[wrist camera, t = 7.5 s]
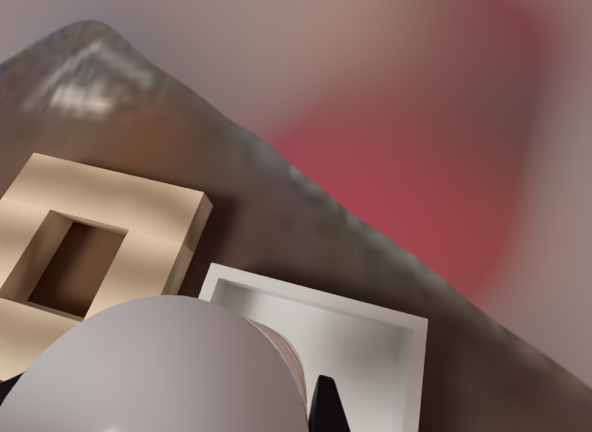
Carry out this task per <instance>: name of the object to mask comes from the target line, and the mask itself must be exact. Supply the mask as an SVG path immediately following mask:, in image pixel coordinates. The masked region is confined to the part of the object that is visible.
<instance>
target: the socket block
mask: <svg viewBox="0 0 592 432" xmlns="http://www.w3.org/2000/svg"><path fill="white" fill-rule="evenodd" d="M212 207H213V205H212V204H211V202H210V201H209V199H208V198H207V196H206V195H205V193H204V192H200V191H196V190H192V189H188V188H183V187H179V186H175V185H170V184H166V183H162V182H157V181H153V180H149V179H145V178H140V177H136V176H132V175H127V174H123V173H119V172H114V171H110V170H106V169H102V168H97V167H93V166H89V165H84V164H80V163H76V162H71V161H67V160H63V159H59V158H54V157H50V156H46V155H41V154H37V153H33V155H32V156H31V158H30V159H29V161H28V162H27V163H26V165H25V166H24V168H23V169H22V171H21V172H20V173H19V175H18V176H17V178H16V179H15V180H14V182H13V183H12V185H11V186H10V188H9V189H8V190H7V192H6V193H5V195H4V196H3V197H2V199H1V200H0V379H1V380H4V381H6V380H8V379H10V378H12V377H14V376H17V375H19V374H21V373H23V372H25V371H26V370H27V369H28V368H29V367H30V366H31V365H32V363H33V362H34V361H35V360H36V359H37V358H38V357H39V356H40V355H41V354H42V353H43V352H44V351H45V350H46V349H47V348H48V347H49V346H50V345H52V344H53V343H54V342H55V341H56V340H57V339H58V338H60V337H61V336H62V335H64V334H65V333H66V332H68V331H69V330H70V329H71V328H73V327H74V326H76V325H77V324H79V323H81V322H82V321H84V320H86V319H87V318H89V317H90V316H92V315H94V314H96V313H98V312H101V311H103V310H105V309H107V308H109V307H111V306H114V305H117V304H120V303H123V302H126V301H129V300H133V299H138V298H143V297H148V296H159V295H177V294H178V291H179V289H180V287H181V284H182V282H183V279H184V277H185V274H186V272H187V269H188V267H189V264H190V262H191V259H192V257H193V254H194V252H195V249H196V247H197V244H198V242H199V239H200V237H201V234H202V232H203V229H204V227H205V225H206V222H207V220H208V217H209V215H210V212H211V210H212ZM73 222H77V223H80V224H84V225H88V226H92V227H96V228H100V229H104V230H107V231H111V232H115V233H119V234H123V235H126V237H125V239H124V241H123V243H122V245H121V247H120V249H119V251H118V253H117V255H116V257H115V259H114V261H113V263H112V265H111V267H110V269H109V271H108V273H107V275H106V277H105V279H104V281H103V283H102V285H101V286H100V288H99V290H98V292H97V294H96V296H95V298H94V300H93V302H92V304H91V306H90V308H89V310H88V312H87V314H86V316H85V318H82V317H79V316H75V315H72V314H69V313H65V312H62V311H59V310H55V309H52V308H49V307H45V306H42V305H39V304H35V303H32V302H29V301H27V300H28V299H29V297H30V295H31V293H32V292H33V290H34V288H35V287H36V285H37V283H38V281H39V280H40V278H41V276H42V275H43V273H44V271H45V270H46V268H47V266H48V264H49V263H50V261H51V259H52V258H53V256H54V254H55V252H56V251H57V249H58V247H59V246H60V244H61V242H62V240H63V239H64V237H65V235H66V234H67V232H68V230H69V228H70V227H71V225H72V223H73Z"/></svg>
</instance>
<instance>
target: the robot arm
mask: <svg viewBox="0 0 592 432" xmlns="http://www.w3.org/2000/svg"><path fill="white" fill-rule="evenodd" d="M23 374H24V372H23V373H21V374H19V375H17V376H14V377H12V378H10V379H8V380H6V381H4V382H2V383H0V406H1V405H2V403H3V401H4V400H5V398H6V396H7V395H8V394H9V392H10V391H11V389H12V388H13V387H14V385H15V384H16V383H17V381H18V380H19V379H20V377H21V376H22V375H23ZM308 429H309V432H351V431H350V428H349V425H348V421H347V418H346V415H345V412H344V409H343V406H342V402H341V399H340V396H339V393H338V390H337V387H336V383H335V381H334V379H333V378H332V377H329V376H325V375H322V374H321V375H319V376H318V379H317V382H316V386H315V390H314V393H313V397H312V402H311V408H310V413H309V419H308Z"/></svg>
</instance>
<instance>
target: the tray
mask: <svg viewBox="0 0 592 432" xmlns="http://www.w3.org/2000/svg"><path fill="white" fill-rule="evenodd" d="M198 299H202V300H205V301H208V302H211V303H214V304H217V305H219V306H222V307H224V308H226V309H228V310H231V311H233V312H235V313H237V314H239V315H242V316H244V317H246V318H248V319H250V320H253V321H255V322H258V323H261V324H263V325H265V326H267V327H269V328H271V329H273V330H275V331H276V332H278V333H280V334H281V335H283V336H284V337H285V338H286V339H287V340H288V341H289V342H290V343H291V344H292V345H293V346H294V348H295V350H296V351H297V353H298V355H299V357H300V359H301V362H302V365H303V369H304V374H305V383H306V393H307V415H308V419H309V413H310V408H311V402H312V397H313V393H314V390H315V386H316V382H317V379H318V376H319V375H321V374H322V375H325V376H329V377H332V378H333V379H334V381H335V383H336V387H337V390H338V393H339V396H340V399H341V402H342V406H343V409H344V412H345V415H346V418H347V421H348V425H349V428H350V431H351V432H418V427H419V415H420V404H421V393H422V382H423V370H424V359H425V348H426V337H427V325H428V319H426V318H422V317H418V316H414V315H410V314H406V313H403V312H399V311H395V310H391V309H387V308H383V307H380V306H376V305H372V304H368V303H364V302H360V301H357V300H353V299H349V298H345V297H341V296H338V295H334V294H330V293H326V292H322V291H318V290H315V289H311V288H307V287H303V286H299V285H295V284H292V283H288V282H284V281H280V280H276V279H272V278H269V277H265V276H261V275H257V274H253V273H249V272H246V271H242V270H238V269H234V268H230V267H226V266H223V265H219V264H215V263H211V265H210V268H209V270H208V273H207V276H206V278H205V281H204V284H203V286H202V289H201V292H200V294H199V297H198Z"/></svg>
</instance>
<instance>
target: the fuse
mask: <svg viewBox="0 0 592 432" xmlns="http://www.w3.org/2000/svg"><path fill="white" fill-rule="evenodd" d="M0 432H309V429H308V415H307V393H306V383H305V374H304V369H303V365H302V362H301V359H300V357H299V355H298V353H297V351H296V350H295V348H294V346H293V345H292V344H291V343H290V342H289V341H288V340H287V339H286V338H285V337H284V336H283V335H281V334H280V333H278V332H276V331H275V330H273V329H271V328H269V327H267V326H265V325H263V324H261V323H258V322H255V321H253V320H250V319H248V318H246V317H244V316H242V315H239V314H237V313H235V312H233V311H231V310H228V309H226V308H224V307H222V306H219V305H217V304H214V303H211V302H208V301H205V300H202V299H198V298H193V297H187V296H177V295H159V296H148V297H143V298H138V299H133V300H129V301H126V302H123V303H120V304H117V305H114V306H111V307H109V308H107V309H105V310H103V311H101V312H98V313H96V314H94V315H92V316H90V317H89V318H87V319H86V320H84V321H82V322H81V323H79V324H77V325H76V326H74V327H73V328H71V329H70V330H69V331H68V332H66V333H65V334H64V335H62V336H61V337H60V338H58V339H57V340H56V341H55V342H54V343H53V344H52V345H50V346H49V347H48V348H47V349H46V350H45V351H44V352H43V353H42V354H41V355H40V356H39V357H38V358H37V359H36V360H35V361H34V362H33V363H32V365H31V366H30V367H29V368H28V369H27V370H26V371H25V372H24V374H23V375H22V376H21V377H20V379H19V380H18V381H17V383H16V384H15V385H14V387H13V388H12V389H11V391H10V392H9V394H8V395H7V396H6V398H5V400H4V401H3V403H2V405H1V406H0Z"/></svg>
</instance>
